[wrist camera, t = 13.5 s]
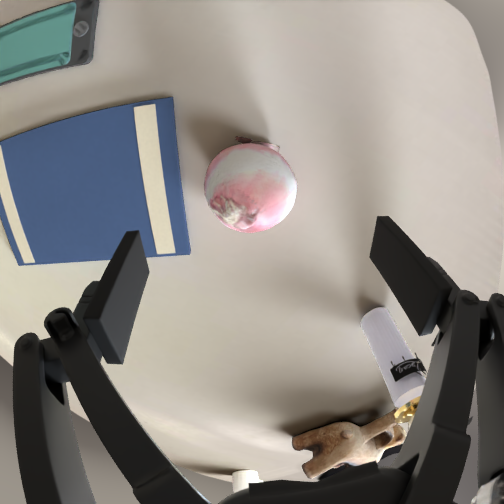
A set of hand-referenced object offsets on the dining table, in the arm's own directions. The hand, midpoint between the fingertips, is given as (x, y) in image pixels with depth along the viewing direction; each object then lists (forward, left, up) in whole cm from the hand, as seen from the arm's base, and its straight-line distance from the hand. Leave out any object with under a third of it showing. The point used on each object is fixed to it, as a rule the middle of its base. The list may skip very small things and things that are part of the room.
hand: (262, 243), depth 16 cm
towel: (+18, 0, -14) cm, 23 cm away
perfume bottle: (-17, +21, -14) cm, 30 cm away
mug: (+3, +91, -14) cm, 92 cm away
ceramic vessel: (-25, +64, -14) cm, 70 cm away
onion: (0, 0, -14) cm, 14 cm away
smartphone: (+21, -17, -14) cm, 30 cm away
